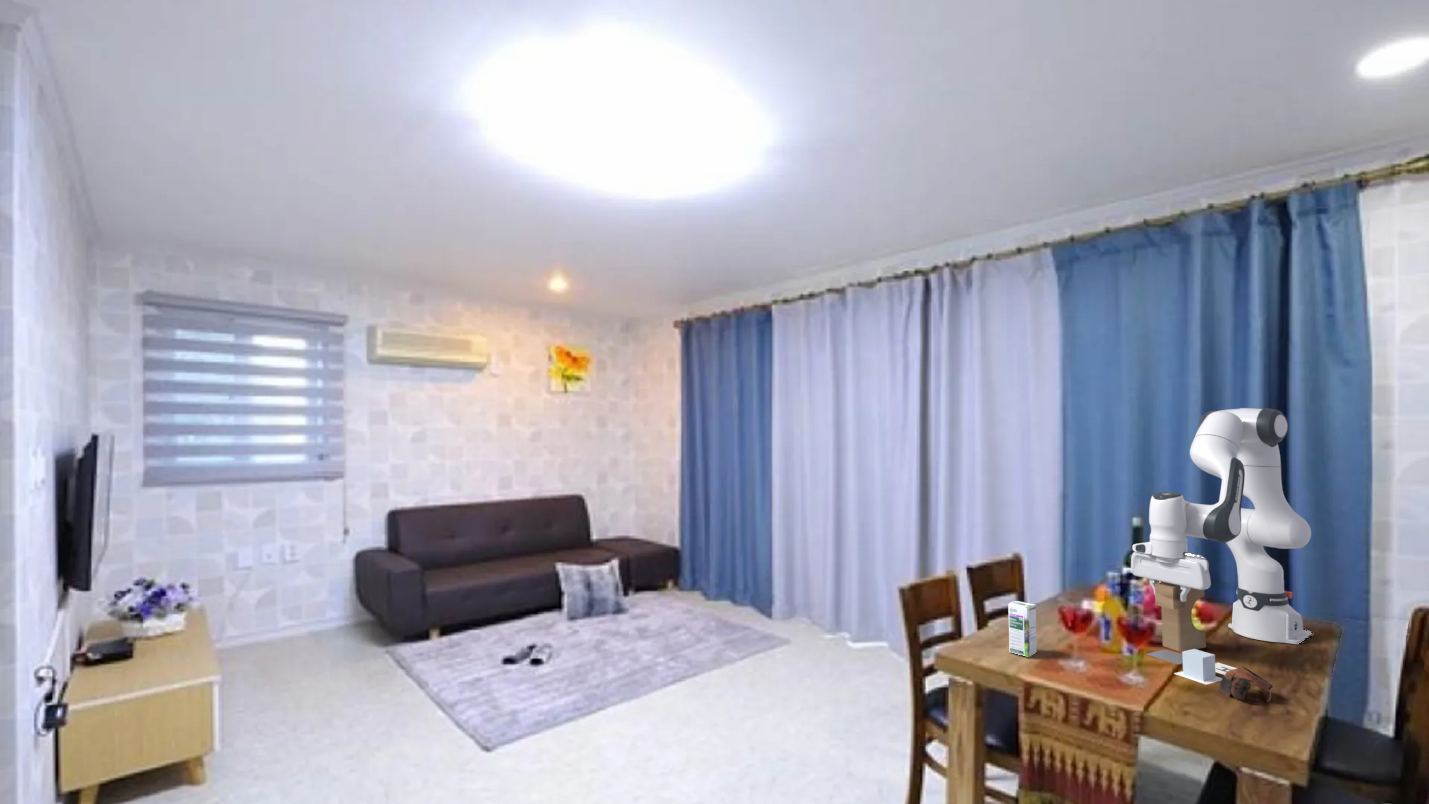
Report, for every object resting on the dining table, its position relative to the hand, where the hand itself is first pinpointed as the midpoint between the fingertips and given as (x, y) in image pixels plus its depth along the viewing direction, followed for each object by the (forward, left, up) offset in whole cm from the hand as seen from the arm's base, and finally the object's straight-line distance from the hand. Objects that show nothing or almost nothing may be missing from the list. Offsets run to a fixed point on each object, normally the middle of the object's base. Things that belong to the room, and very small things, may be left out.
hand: (1169, 598), depth 186 cm
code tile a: (-3, +12, -17) cm, 21 cm away
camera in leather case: (+11, +24, -17) cm, 32 cm away
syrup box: (+35, -20, -17) cm, 44 cm away
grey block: (+8, +12, -17) cm, 22 cm away
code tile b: (+8, +12, -17) cm, 22 cm away
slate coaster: (0, 0, -17) cm, 17 cm away
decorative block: (-12, -4, -17) cm, 21 cm away
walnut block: (0, 0, -2) cm, 2 cm away
